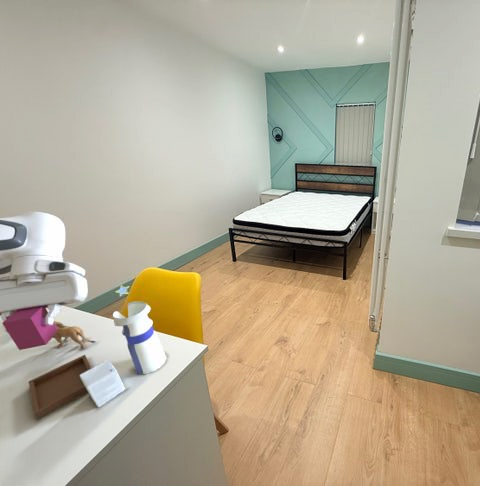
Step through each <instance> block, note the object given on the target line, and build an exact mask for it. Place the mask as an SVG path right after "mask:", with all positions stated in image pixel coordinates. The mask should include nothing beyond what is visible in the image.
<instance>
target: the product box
mask: <svg viewBox="0 0 480 486" xmlns="http://www.w3.org/2000/svg"><path fill="white" fill-rule="evenodd" d="M91 368H92V369H90V370H88V371H86V372H84V373H83V374H81V375H80V378H81V380H82V382H83V384H84V385H85V387H86V389H87V391H88V392H87V393H88V395H89V396H90V398H91V399H92V400H93V402H94V404H95V405H96V407H97V408H100V407H101V406H103V405H105V404H106V403H108V402H109V401H111V400H112V399H113V398H115V397H116V396H118V395H119V394H121V393H122V392H124V391H125V390H126V387H125V385H124V383H123V381H122V379H121V376H120V374H119V372H118V370H117V369H116V367H115V366H114V365H113V364H112V363H111V362H110V360H109V359H106V360H103V362H101V363H98V365H95V366H93V367H91Z"/></svg>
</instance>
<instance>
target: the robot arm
mask: <svg viewBox="0 0 480 486" xmlns="http://www.w3.org/2000/svg"><path fill="white" fill-rule="evenodd" d="M65 248H66V227H65V224H64V222H63V221H62V220H61V219H60V218H59V217H57V216H56V215H53V214H51V213H48V212H44V211H36V210H35V211H34V210H33V211H27V212H24V213H21V214H19V215H14V216H9V217H0V276H1V275H5V274H9V276H2V277H0V319H1V320H2V322H4V321H5V320H6V319H7V318H8V317H10V316H11V315H12V314H13V313H14V312H15V311H17V310H19V309H25V308H31V307H37V306H43V305H44V306H45V308H46V309H47V312H48V314H47V315H46V317H44V318H41V326H48V325H53V321H55V318H56V316H57V315H58V314H59V313H60V311H61V309H62V306H66V305H67V306H68V305H73V304H78V303H83V302H85V300H87V298H88V294H89V288H88V287H89V286H88V280H87V278H86V277H84V276H86V269H84V268H83V267H81V266H79V265H77V264H75V263H72V262H69V261H64V257H63V252H64V250H65ZM48 310H49V311H48ZM4 331H5V333H8V332H7V330H6V329H5V328H4Z"/></svg>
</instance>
